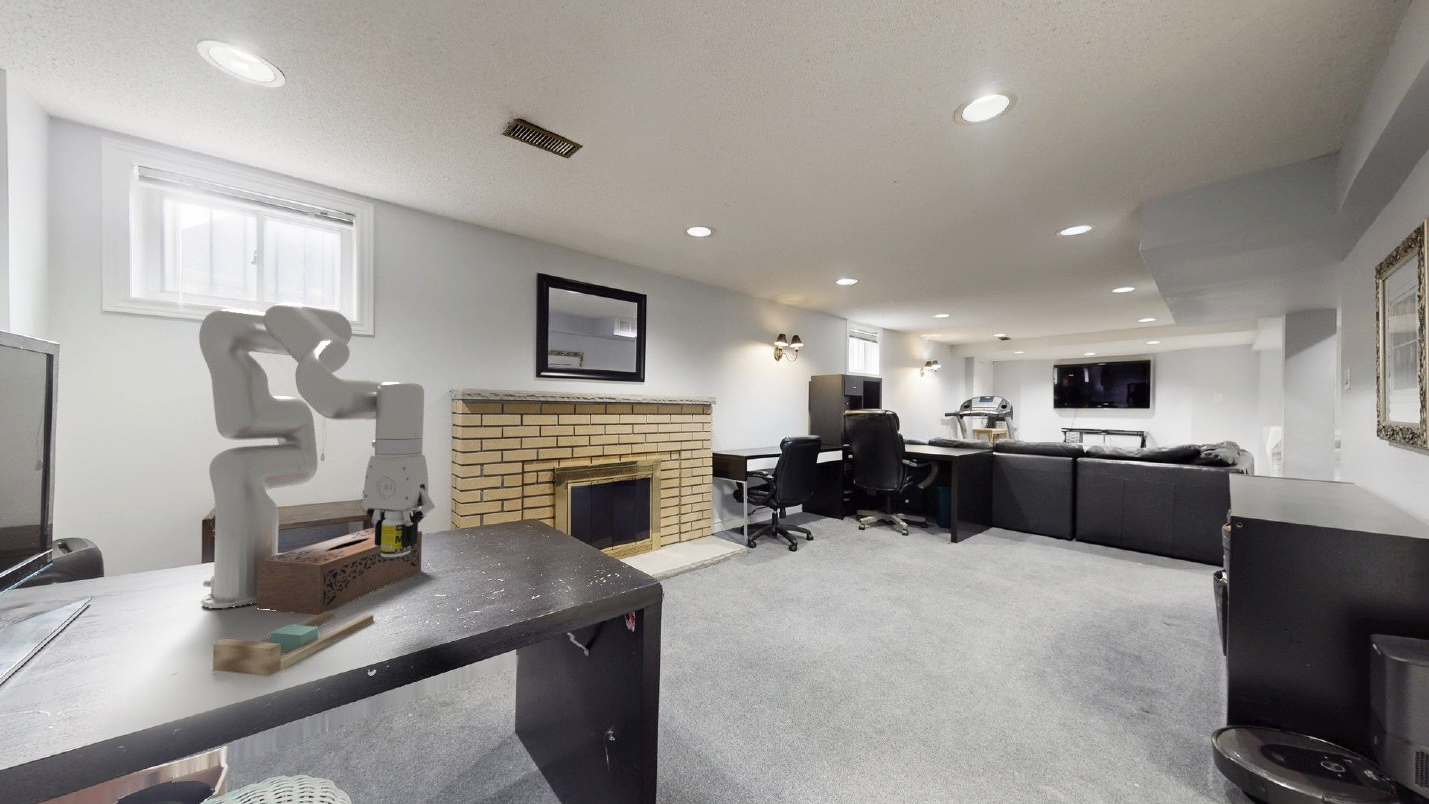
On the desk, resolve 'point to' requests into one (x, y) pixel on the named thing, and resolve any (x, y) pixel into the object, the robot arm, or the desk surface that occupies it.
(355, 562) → the tissue box cover
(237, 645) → the track
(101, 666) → the desk surface
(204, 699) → the desk surface
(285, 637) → the block
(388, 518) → the supplement bottle
